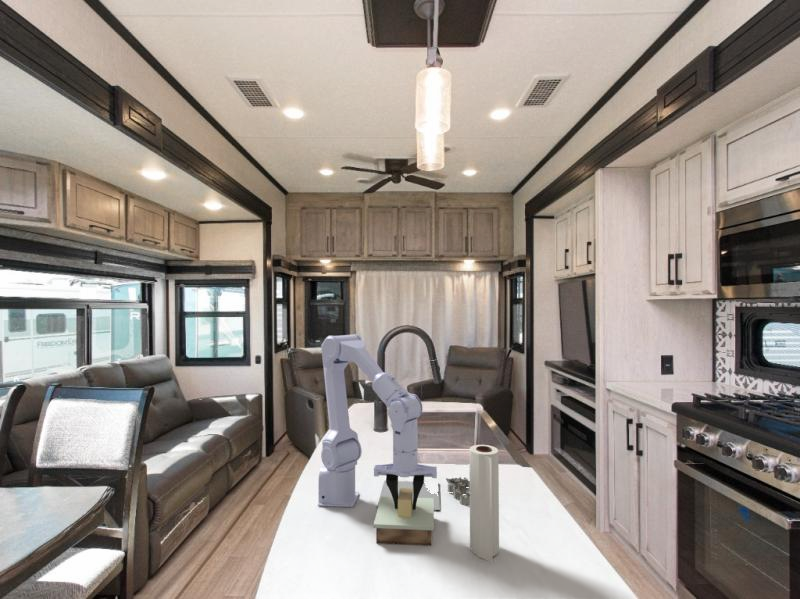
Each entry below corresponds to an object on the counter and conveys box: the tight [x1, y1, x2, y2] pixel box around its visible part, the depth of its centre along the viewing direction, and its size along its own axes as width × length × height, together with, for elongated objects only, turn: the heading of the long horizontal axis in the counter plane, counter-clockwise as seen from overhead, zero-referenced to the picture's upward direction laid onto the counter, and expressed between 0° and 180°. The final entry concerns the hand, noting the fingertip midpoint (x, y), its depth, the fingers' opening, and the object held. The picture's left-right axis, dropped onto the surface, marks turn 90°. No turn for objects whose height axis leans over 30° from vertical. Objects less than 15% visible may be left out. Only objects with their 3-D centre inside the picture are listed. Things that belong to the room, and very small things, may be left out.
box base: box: [375, 528, 433, 547], centre depth 94 cm, size 12×12×4 cm
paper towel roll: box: [469, 444, 500, 564], centre depth 86 cm, size 7×6×21 cm
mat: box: [376, 480, 441, 510], centre depth 111 cm, size 16×16×1 cm
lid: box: [373, 488, 435, 531], centre depth 94 cm, size 13×13×5 cm
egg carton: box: [445, 476, 470, 506], centre depth 111 cm, size 11×8×4 cm
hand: (405, 507), depth 94 cm, fingers open, 3 cm apart
